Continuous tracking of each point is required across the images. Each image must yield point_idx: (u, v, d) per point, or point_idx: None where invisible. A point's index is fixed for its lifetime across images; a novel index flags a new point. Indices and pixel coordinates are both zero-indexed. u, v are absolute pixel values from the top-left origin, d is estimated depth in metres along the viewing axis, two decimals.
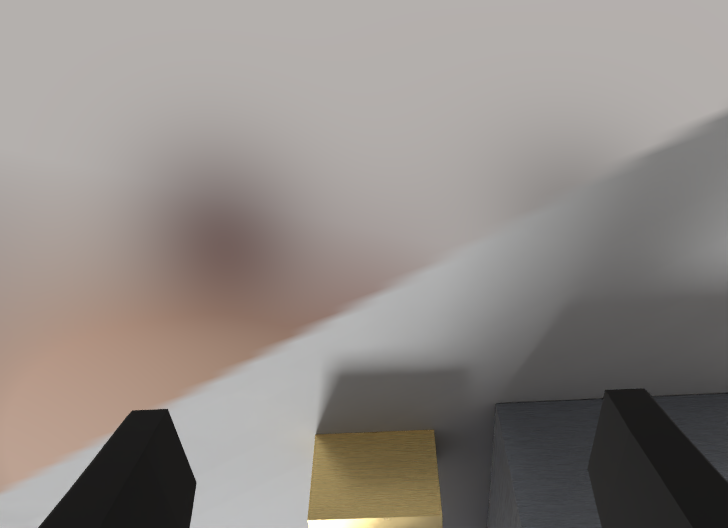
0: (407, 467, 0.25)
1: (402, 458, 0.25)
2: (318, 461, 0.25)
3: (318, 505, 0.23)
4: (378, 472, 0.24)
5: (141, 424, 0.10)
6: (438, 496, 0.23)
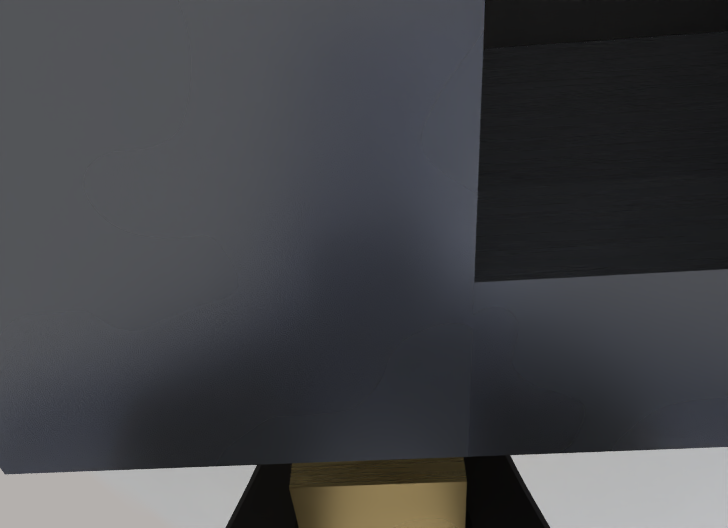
0: None
1: None
2: None
3: None
4: None
5: None
6: None
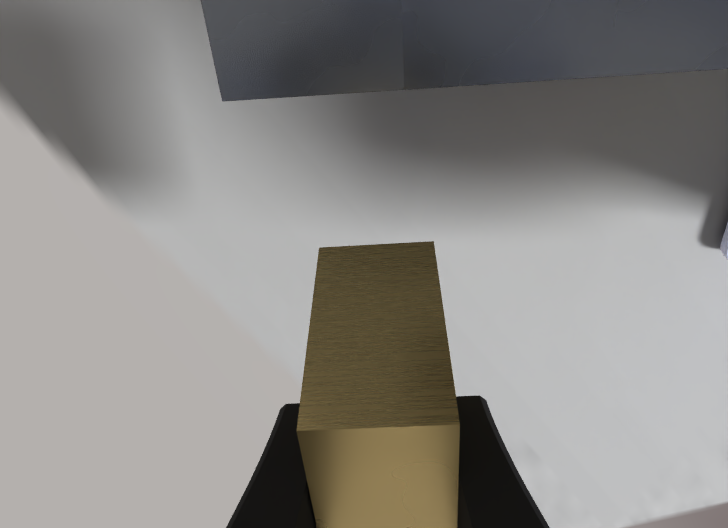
0: None
1: None
2: None
3: None
4: None
5: None
6: (302, 386, 0.08)
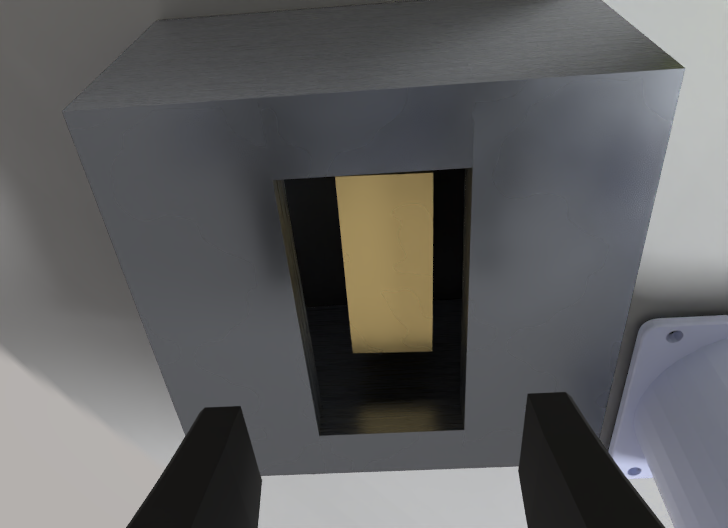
0: None
1: None
2: None
3: None
4: None
5: (217, 420, 0.10)
6: None
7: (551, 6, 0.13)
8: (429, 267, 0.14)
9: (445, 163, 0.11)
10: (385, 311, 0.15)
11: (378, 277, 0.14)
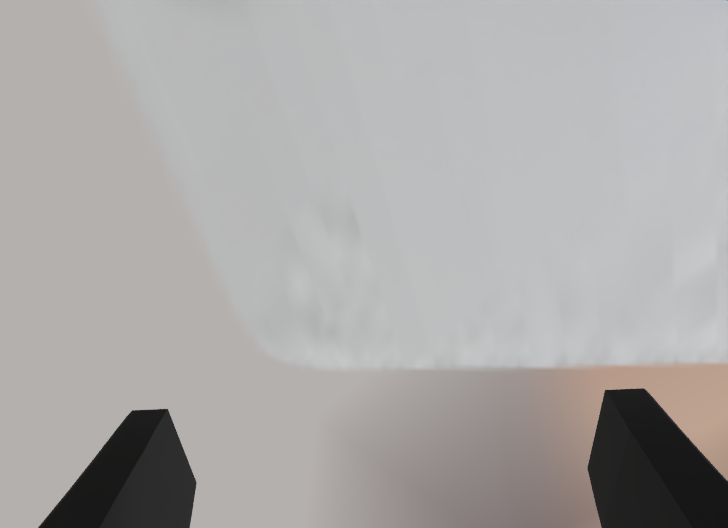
0: None
1: None
2: None
3: None
4: None
5: (141, 424, 0.10)
6: None
7: None
8: None
9: None
10: None
11: None
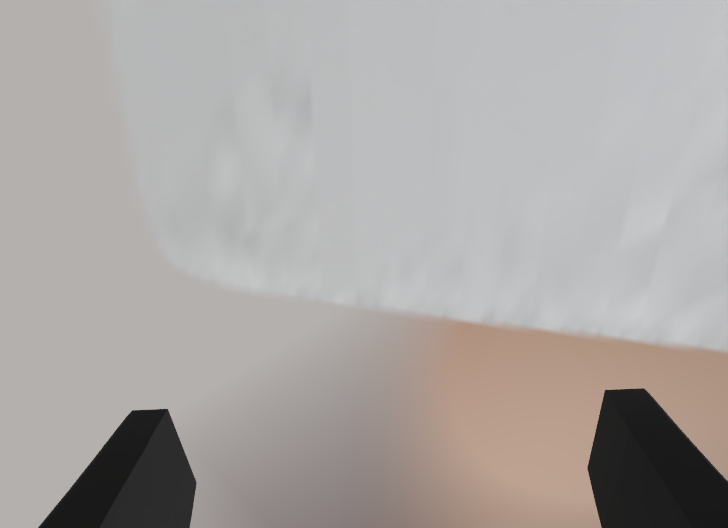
0: None
1: None
2: None
3: None
4: None
5: (141, 424, 0.10)
6: None
7: None
8: None
9: None
10: None
11: None
